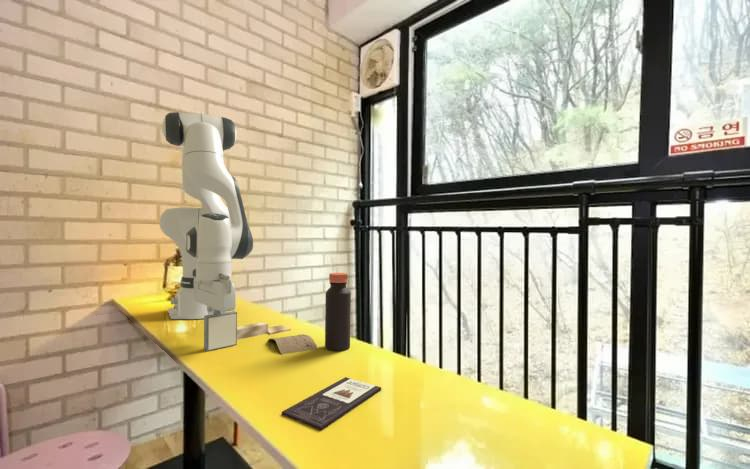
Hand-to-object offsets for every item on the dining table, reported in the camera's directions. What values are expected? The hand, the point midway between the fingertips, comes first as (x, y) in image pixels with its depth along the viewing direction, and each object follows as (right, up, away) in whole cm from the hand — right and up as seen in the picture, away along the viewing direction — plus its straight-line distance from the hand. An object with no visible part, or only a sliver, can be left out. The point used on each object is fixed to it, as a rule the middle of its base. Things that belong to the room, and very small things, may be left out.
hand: (214, 322), depth 101 cm
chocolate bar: (+37, -7, -33) cm, 50 cm away
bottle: (+34, -7, -2) cm, 35 cm away
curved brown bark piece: (+21, -7, 0) cm, 23 cm away
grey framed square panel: (+3, -6, -3) cm, 7 cm away
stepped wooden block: (+10, -6, +11) cm, 16 cm away
